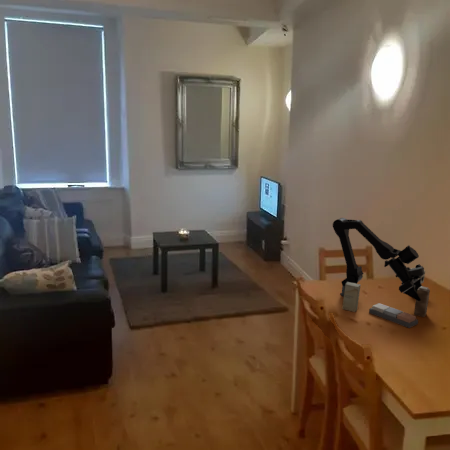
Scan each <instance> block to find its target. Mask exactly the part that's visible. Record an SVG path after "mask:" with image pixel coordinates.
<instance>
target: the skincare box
mask: <svg viewBox="0 0 450 450" xmlns="http://www.w3.org/2000/svg"><path fill="white" fill-rule="evenodd" d="M360 291H361V284H360V283H357V284H356V283H351V282H347V283H346V284H345V291H344V297H342V298H343V300H342V306H341V307H342V308H341V309H342V310H346V311H349V312H354V313H356V312H357V310H358V308H359V307H358V305H359V298H360Z"/></svg>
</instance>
